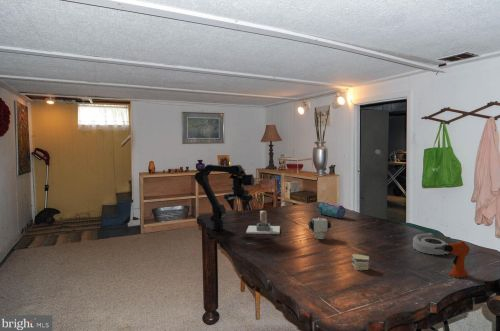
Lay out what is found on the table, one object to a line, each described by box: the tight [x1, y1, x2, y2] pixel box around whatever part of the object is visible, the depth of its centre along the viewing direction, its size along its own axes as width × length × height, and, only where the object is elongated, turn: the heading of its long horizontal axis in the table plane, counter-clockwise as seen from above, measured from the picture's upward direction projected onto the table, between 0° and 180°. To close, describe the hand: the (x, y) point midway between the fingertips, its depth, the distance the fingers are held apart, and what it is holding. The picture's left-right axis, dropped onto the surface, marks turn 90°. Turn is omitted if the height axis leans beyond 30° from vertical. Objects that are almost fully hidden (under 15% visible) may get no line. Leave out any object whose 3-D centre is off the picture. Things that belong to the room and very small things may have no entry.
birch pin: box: [259, 210, 268, 226], centre depth 196 cm, size 4×4×11 cm
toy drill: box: [434, 241, 471, 278], centre depth 126 cm, size 5×18×14 cm, turn 109°
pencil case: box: [316, 201, 346, 219], centre depth 231 cm, size 21×9×10 cm, turn 34°
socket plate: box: [245, 222, 281, 235], centre depth 196 cm, size 20×14×4 cm
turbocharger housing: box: [412, 232, 450, 255], centre depth 157 cm, size 17×7×15 cm
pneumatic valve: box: [307, 217, 332, 240], centre depth 179 cm, size 6×12×12 cm, turn 94°
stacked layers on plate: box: [351, 253, 370, 271], centre depth 136 cm, size 10×9×6 cm
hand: (238, 210), depth 193 cm, fingers open, 9 cm apart
